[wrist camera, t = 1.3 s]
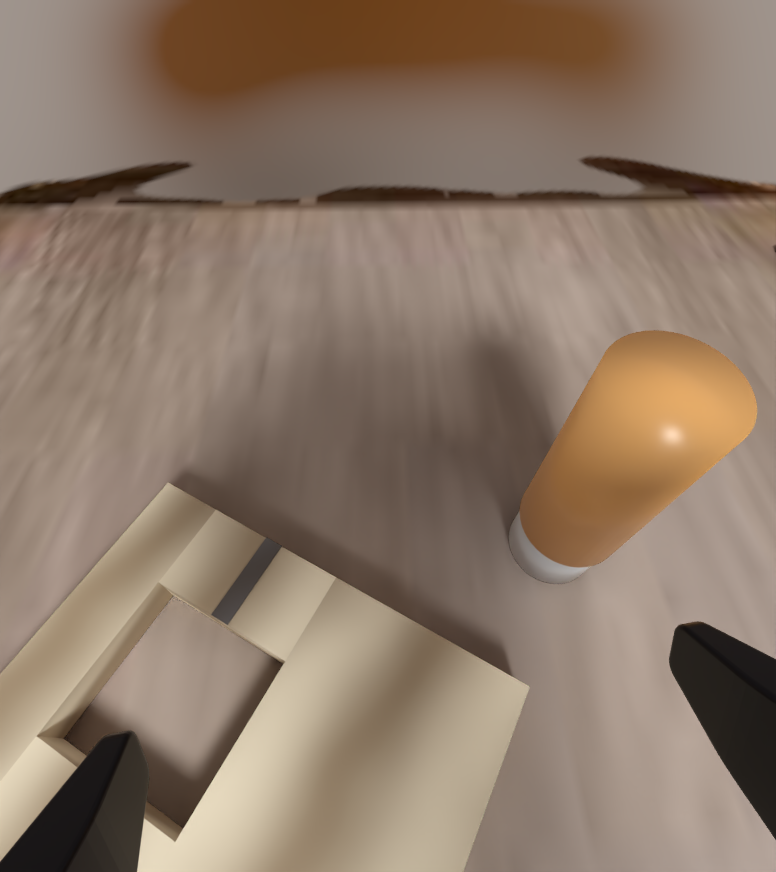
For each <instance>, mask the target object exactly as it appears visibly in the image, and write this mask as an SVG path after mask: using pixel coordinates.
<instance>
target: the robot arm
mask: <svg viewBox="0 0 776 872" xmlns="http://www.w3.org/2000/svg"><path fill="white" fill-rule="evenodd" d="M669 664H670V668H671V671H672V673H673V675H674V677H675V679H676V681H677V683H678V684H679V686H680V688H681V690H682V691H683V693H684V695H685V697H686V698H687V700H688V702H689V704H690V706H691V707H692V709H693V711H694V713H695V714H696V716H697V718H698V720H699V721H700V723H701V725H702V727H703V729H704V730H705V732H706V734H707V736H708V737H709V739H710V741H711V743H712V744H713V746H714V748H715V750H716V751H717V753H718V755H719V756H720V758H721V760H722V761H723V763H724V764H725V766H726V768H727V769H728V771H729V772H730V774H731V775H732V777H733V778H734V780H735V781H736V783H737V784H738V785H739V787H740V788H741V790H742V791H743V793H744V794H745V796H746V797H747V799H748V800H749V802H750V803H751V804H752V806H753V807H754V809H755V810H756V812H757V813H758V815H759V816H760V818H761V819H762V820H763V822H764V823H765V825H766V826H767V828H768V829H769V831H770V832H771V834H772V835H773V837H774V838H775V839H776V659H774V658H772V657H770V656H768V655H766V654H765V653H763V652H761V651H759V650H757V649H755V648H753V647H751V646H749V645H747V644H745V643H743V642H741V641H739V640H737V639H735V638H733V637H731V636H729V635H727V634H726V633H724V632H722V631H720V630H718V629H716V628H714V627H712V626H710V625H708V624H706V623H703V622H691V623H686V624H681V625H678V626H677V627H676V629H675V631H674V636H673V641H672V646H671V651H670V657H669ZM148 783H149V768H148V764H147V761H146V758H145V756H144V753H143V751H142V748H141V746H140V743H139V741H138V738H137V736H136V734H135V733H134V732H133V731H124V732H119V733H113V734H109V735H106V736H104V737H103V738H102V739H101V740H100V741H99V742H98V743H97V744H96V745H95V747H94V748H93V749H92V750H91V752H90V753H89V754H88V755H87V756H86V758H85V759H84V760H83V761H82V762H81V764H80V765H79V766H78V767H77V769H76V770H75V771H74V772H73V773H72V775H71V776H70V777H69V778H68V780H67V781H66V782H65V783H64V784H63V786H62V787H61V788H60V789H59V790H58V792H57V793H56V794H55V795H54V797H53V798H52V799H51V800H50V801H49V803H48V804H47V805H46V806H45V807H44V809H43V810H42V811H41V812H40V814H39V815H38V816H37V817H36V818H35V820H34V821H33V822H32V823H31V825H30V826H29V827H28V828H27V829H26V831H25V832H24V833H23V834H22V835H21V837H20V838H19V839H18V840H17V842H16V843H15V844H14V845H13V846H12V848H11V849H10V850H9V851H8V853H7V854H6V855H5V856H4V857H3V859H2V860H1V861H0V872H137V869H138V861H139V853H140V846H141V838H142V830H143V822H144V815H145V807H146V799H147V791H148Z"/></svg>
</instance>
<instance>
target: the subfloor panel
mask: <svg viewBox="0 0 776 872" xmlns="http://www.w3.org/2000/svg"><path fill="white" fill-rule="evenodd" d="M173 595H174V596H175V597H177V598H179V599H180V600H182V601H183V602H185V603H187V604H188V605H190V606H191V607H193V608H195V609H196V610H198V611H199V612H201V613H203V614H204V615H206V616H207V617H209V618H210V619H212V620H214V621H215V622H217V623H218V624H220V625H222V626H223V627H225V628H226V629H228V630H230V631H231V632H233V633H234V634H236V635H238V636H239V637H241V638H242V639H244V640H246V641H247V642H249V643H250V644H252V645H254V646H255V647H257V648H258V649H260V650H262V651H263V652H265V653H266V654H268V655H270V656H271V657H273V658H274V659H276V660H278V661H279V662H281V663H282V664H283V666H282V667H281V669H280V671H279V672H278V674H277V675H276V677H275V679H274V680H273V682H272V684H271V685H270V687H269V689H268V690H267V692H266V694H265V695H264V697H263V699H262V700H261V702H260V703H259V705H258V707H257V708H256V710H255V712H254V713H253V715H252V717H251V718H250V720H249V722H248V723H247V725H246V726H245V728H244V730H243V731H242V733H241V735H240V736H239V738H238V740H237V741H236V743H235V745H234V746H233V748H232V749H231V751H230V753H229V754H228V756H227V758H226V759H225V761H224V763H223V764H222V766H221V768H220V769H219V771H218V772H217V774H216V776H215V777H214V779H213V781H212V782H211V784H210V786H209V787H208V789H207V791H206V792H205V794H204V796H203V797H202V799H201V800H200V802H199V804H198V805H197V807H196V809H195V810H194V812H193V814H192V815H191V817H190V819H189V820H188V822H187V823H186V825H185V827H184V828H182V827H180V826H179V825H178V824H176V823H175V822H174V821H172V820H171V819H170V818H168V817H167V816H166V815H164V814H163V813H162V812H160V811H159V810H158V809H156V808H155V807H154V806H152V805H151V804H150V803H148V802H147V801H146V807H145V815H144V822H143V830H142V838H141V846H140V853H139V861H138V869H137V872H463V871H464V868H465V866H466V863H467V860H468V857H469V855H470V852H471V849H472V846H473V843H474V841H475V838H476V835H477V832H478V830H479V827H480V824H481V821H482V818H483V816H484V813H485V810H486V807H487V804H488V802H489V799H490V796H491V793H492V791H493V788H494V785H495V782H496V779H497V777H498V774H499V771H500V768H501V766H502V763H503V760H504V757H505V754H506V752H507V749H508V746H509V743H510V741H511V738H512V735H513V732H514V729H515V727H516V724H517V721H518V718H519V715H520V713H521V710H522V707H523V704H524V702H525V699H526V696H527V693H528V690H529V688H530V686H528V685H526V684H524V683H523V682H521V681H519V680H517V679H515V678H514V677H512V676H510V675H508V674H507V673H505V672H503V671H501V670H499V669H498V668H496V667H494V666H492V665H491V664H489V663H487V662H485V661H484V660H482V659H480V658H478V657H476V656H475V655H473V654H471V653H469V652H468V651H466V650H464V649H462V648H460V647H459V646H457V645H455V644H453V643H452V642H450V641H448V640H446V639H445V638H443V637H441V636H439V635H437V634H436V633H434V632H432V631H430V630H429V629H427V628H425V627H423V626H421V625H420V624H418V623H416V622H414V621H413V620H411V619H409V618H407V617H406V616H404V615H402V614H400V613H398V612H397V611H395V610H393V609H391V608H390V607H388V606H386V605H384V604H382V603H381V602H379V601H377V600H375V599H374V598H372V597H370V596H368V595H366V594H365V593H363V592H361V591H359V590H358V589H356V588H354V587H352V586H351V585H349V584H347V583H345V582H343V581H342V580H340V579H338V578H336V577H335V576H333V575H331V574H329V573H327V572H326V571H324V570H322V569H320V568H319V567H317V566H315V565H313V564H312V563H310V562H308V561H306V560H304V559H303V558H301V557H299V556H297V555H296V554H294V553H292V552H290V551H288V550H287V549H285V548H283V547H282V546H281V545H279V544H277V543H275V542H274V541H272V540H270V539H268V538H267V537H266V538H265V537H264V536H262V535H260V534H258V533H257V532H255V531H253V530H251V529H249V528H248V527H246V526H244V525H242V524H241V523H239V522H237V521H235V520H234V519H232V518H230V517H228V516H226V515H225V514H223V513H221V512H219V511H218V510H216V509H214V508H212V507H210V506H209V505H207V504H205V503H203V502H202V501H200V500H198V499H196V498H195V497H193V496H191V495H189V494H187V493H186V492H184V491H182V490H180V489H179V488H177V487H175V486H173V485H171V484H170V483H167V484H166V485H165V487H164V488H163V489H162V490H161V491H160V492H159V493H158V495H157V496H156V497H155V498H154V499H153V500H152V501H151V503H150V504H149V505H148V506H147V507H146V508H145V509H144V511H143V512H142V513H141V514H140V515H139V516H138V517H137V519H136V520H135V521H134V522H133V523H132V524H131V525H130V527H129V528H128V529H127V530H126V531H125V532H124V533H123V535H122V536H121V537H120V538H119V539H118V540H117V541H116V543H115V544H114V545H113V546H112V547H111V548H110V549H109V551H108V552H107V553H106V554H105V555H104V556H103V557H102V558H101V560H100V561H99V562H98V563H97V564H96V565H95V566H94V568H93V569H92V570H91V571H90V572H89V573H88V574H87V576H86V577H85V578H84V579H83V580H82V581H81V582H80V584H79V585H78V586H77V587H76V588H75V589H74V590H73V592H72V593H71V594H70V595H69V596H68V597H67V598H66V600H65V601H64V602H63V603H62V604H61V605H60V606H59V608H58V609H57V610H56V611H55V612H54V613H53V614H52V616H51V617H50V618H49V619H48V620H47V621H46V622H45V624H44V625H43V626H42V627H41V628H40V629H39V630H38V632H37V633H36V634H35V635H34V636H33V637H32V638H31V639H30V641H29V642H28V643H27V644H26V645H25V646H24V647H23V649H22V650H21V651H20V652H19V653H18V654H17V655H16V657H15V658H14V659H13V660H12V661H11V662H10V663H9V665H8V666H7V667H6V668H5V669H4V670H3V671H2V673H1V674H0V861H1V860H2V859H3V857H4V856H5V855H6V854H7V853H8V851H9V850H10V849H11V848H12V846H13V845H14V844H15V843H16V842H17V840H18V839H19V838H20V837H21V835H22V834H23V833H24V832H25V831H26V829H27V828H28V827H29V826H30V825H31V823H32V822H33V821H34V820H35V818H36V817H37V816H38V815H39V814H40V812H41V811H42V810H43V809H44V807H45V806H46V805H47V804H48V803H49V801H50V800H51V799H52V798H53V797H54V795H55V794H56V793H57V792H58V790H59V789H60V788H61V787H62V786H63V784H64V783H65V782H66V781H67V780H68V778H69V777H70V776H71V775H72V773H73V772H74V771H75V770H76V769H77V767H78V766H79V765H80V764H81V762H82V761H83V760H84V759H85V758H86V755H85V754H83V753H82V752H81V751H79V750H78V749H77V748H75V747H74V746H73V745H71V744H70V743H69V742H67V741H66V740H65V739H63V738H64V737H65V736H66V735H67V733H68V732H69V731H70V729H71V728H72V727H73V725H74V724H75V723H76V722H77V720H78V719H79V718H80V716H81V715H82V714H83V712H84V711H85V710H86V709H87V707H88V706H89V705H90V703H91V702H92V701H93V699H94V698H95V697H96V695H97V694H98V693H99V692H100V690H101V689H102V688H103V686H104V685H105V684H106V682H107V681H108V680H109V679H110V677H111V676H112V675H113V673H114V672H115V671H116V669H117V668H118V667H119V666H120V664H121V663H122V662H123V660H124V659H125V658H126V656H127V655H128V654H129V652H130V651H131V650H132V649H133V647H134V646H135V645H136V643H137V642H138V641H139V639H140V638H141V637H142V636H143V634H144V633H145V632H146V630H147V629H148V628H149V626H150V625H151V624H152V623H153V621H154V620H155V619H156V617H157V616H158V615H159V613H160V612H161V611H162V609H163V608H164V607H165V606H166V604H167V603H168V602H169V600H170V599H171V598H172V596H173Z"/></svg>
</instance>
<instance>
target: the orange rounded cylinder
mask: <svg viewBox="0 0 776 872" xmlns="http://www.w3.org/2000/svg"><path fill="white" fill-rule="evenodd" d="M756 417H757V404H756V399H755V395H754V393H753V390H752V388H751V386H750V384H749V382H748V381H747V379H746V378H745V376H744V375H743V374H742V372H741V371H740V370H739V369H738V368H737V367H736V366H735V364H733V363H732V362H731V361H730V360H729V359H728V358H727V357H725V356H724V355H723V354H721V353H720V352H719V351H717V350H716V349H714V348H712V347H711V346H709V345H707V344H705V343H703V342H701V341H699V340H696V339H694V338H691V337H688V336H685V335H682V334H678V333H674V332H667V331H655V330H654V331H641V332H636V333H632V334H629V335H627V336H624V337H622V338H620V339H619V340H617V341H615V342H614V343H613V344H612V345H611V346H610V347H609V348H608V349H607V351H606V352H605V354H604V356H603V357H602V359H601V361H600V363H599V364H598V366H597V368H596V370H595V371H594V373H593V375H592V377H591V378H590V380H589V382H588V384H587V385H586V387H585V389H584V390H583V392H582V394H581V396H580V397H579V399H578V401H577V403H576V404H575V406H574V408H573V410H572V411H571V413H570V415H569V417H568V418H567V420H566V422H565V424H564V425H563V427H562V429H561V431H560V432H559V434H558V436H557V437H556V439H555V441H554V443H553V444H552V446H551V448H550V450H549V451H548V453H547V455H546V457H545V458H544V460H543V462H542V464H541V465H540V467H539V469H538V471H537V472H536V474H535V476H534V478H533V479H532V481H531V483H530V484H529V486H528V488H527V490H526V491H525V493H524V495H523V497H522V500H521V504H520V511H519V512H518V514H517V516H516V517H515V519H514V521H513V522H512V524H511V527H510V531H509V546H510V550H511V552H512V555H513V557H514V559H515V560H516V562H517V563H518V565H519V566H520V567H521V568H522V569H523V570H524V571H525V572H526V573H528V574H529V575H530V576H532V577H534V578H535V579H538V580H540V581H543V582H546V583H551V584H563V583H567V582H570V581H573V580H575V579H576V578H578V577H579V576H580V575H581V574H583V573H584V572H585V571H586V570H587V569H588V568H589V567H590V566H594V565H596V564H599V563H601V562H603V561H604V560H606V559H607V558H608V557H609V556H610V555H612V554H613V553H614V552H615V551H616V550H617V549H618V548H620V547H621V546H622V545H623V544H624V543H625V542H627V541H628V540H629V539H630V538H631V537H632V536H633V535H635V534H636V533H637V532H638V531H639V530H640V529H642V528H643V527H644V526H645V525H646V524H647V523H648V522H650V521H651V520H652V519H653V518H654V517H655V516H656V515H658V514H659V513H660V512H661V511H662V510H663V509H665V508H666V507H667V506H668V505H669V504H670V503H671V502H673V501H674V500H675V499H676V498H677V497H678V496H679V495H681V494H682V493H683V492H684V491H685V490H686V489H688V488H689V487H690V486H691V485H692V484H693V483H694V482H696V481H697V480H698V479H699V478H700V477H701V476H703V475H704V474H705V473H706V472H707V471H708V470H709V469H711V468H712V467H713V466H714V465H715V464H716V463H717V462H719V461H720V460H721V459H722V458H723V457H724V456H726V455H727V454H728V453H729V452H730V451H731V450H732V449H734V448H735V447H736V446H737V445H738V444H739V443H741V442H742V441H743V440H744V439H745V438H746V437H747V436H748V435H749V433H750V432H751V431H752V429H753V427H754V425H755V421H756Z"/></svg>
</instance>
